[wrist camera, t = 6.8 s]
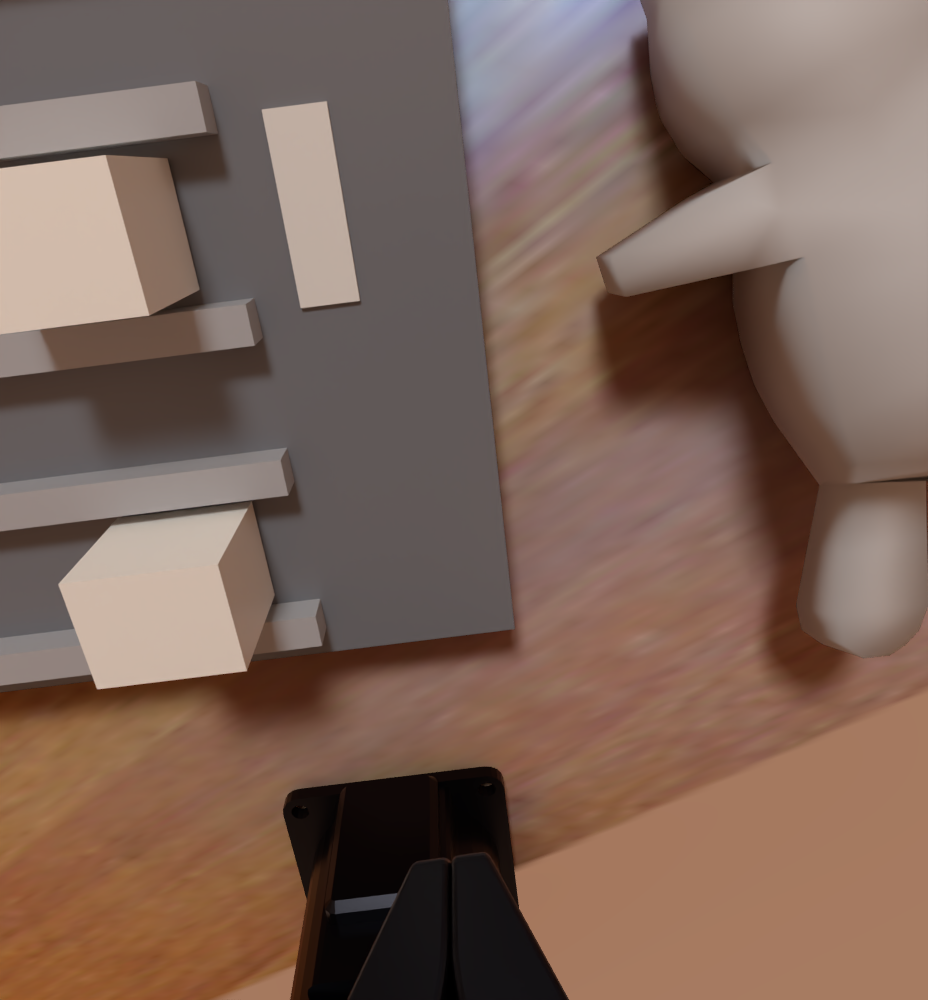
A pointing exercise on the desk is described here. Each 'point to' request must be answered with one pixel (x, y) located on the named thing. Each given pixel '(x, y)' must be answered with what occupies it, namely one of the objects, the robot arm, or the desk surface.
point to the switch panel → (261, 321)
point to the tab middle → (90, 242)
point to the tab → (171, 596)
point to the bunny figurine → (813, 266)
